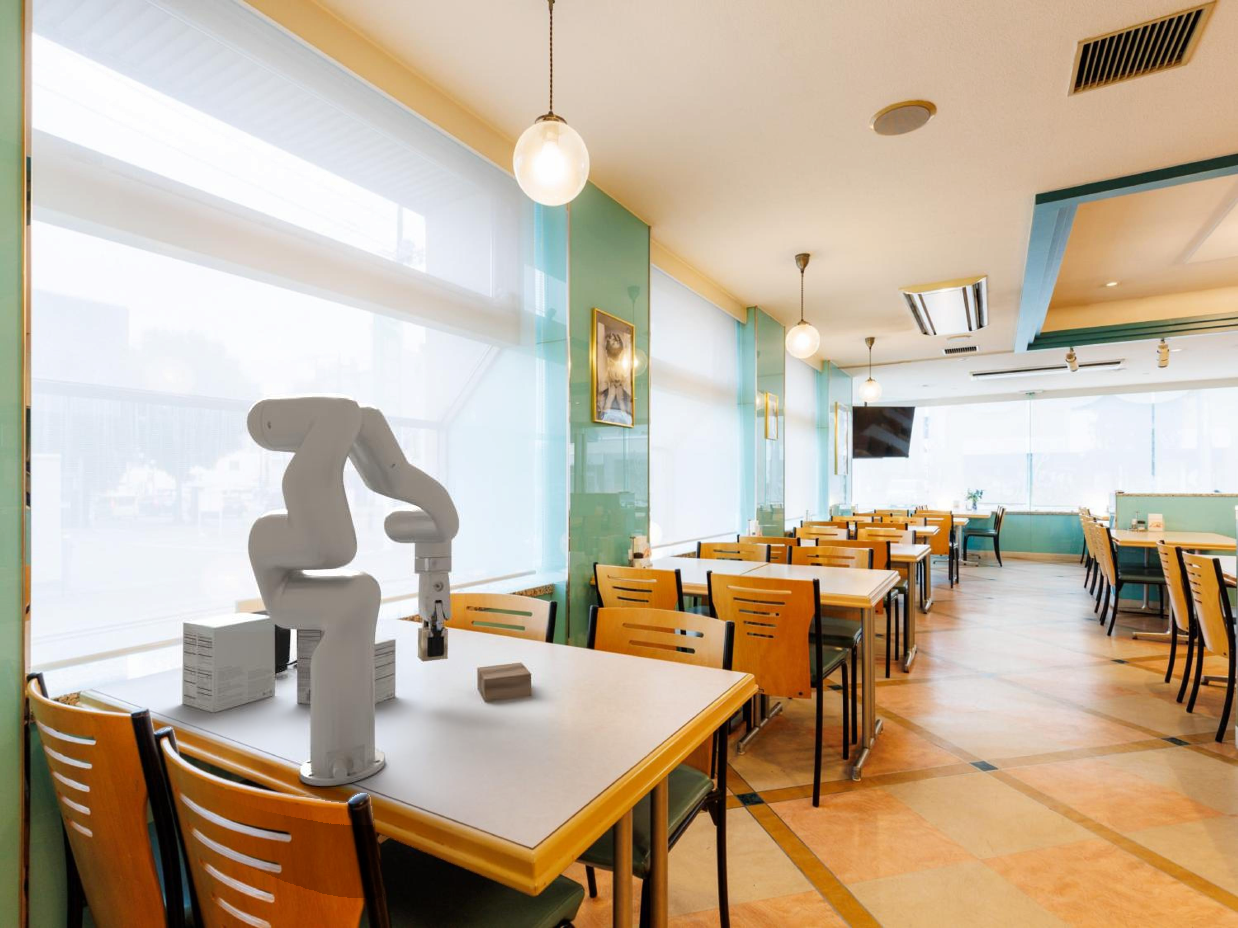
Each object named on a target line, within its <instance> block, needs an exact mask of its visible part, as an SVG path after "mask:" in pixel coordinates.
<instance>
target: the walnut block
mask: <svg viewBox="0 0 1238 928" xmlns="http://www.w3.org/2000/svg"><path fill="white" fill-rule="evenodd" d="M476 669H477V676H476V677H477V681H476V682H477V690H478V692H479V695H480V697H481V698H482V700H483V701H484V703H487V702H488V703H489V702H495V701H496V702H497V701H504V700H511V699H518V698H525V697H532V673H531V672H530V671H529V669H528V668H527V667H526V666H525V665H524V664H523V663H522V662H514V663H505V664H498V665H497V664H495V665H488V666H482V667H481V666H480V667H476Z"/></svg>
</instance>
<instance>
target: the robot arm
mask: <svg viewBox="0 0 1238 928" xmlns="http://www.w3.org/2000/svg"><path fill="white" fill-rule="evenodd" d="M246 426H247V430H248V433H249V436H250V437H251V438H252V440H253V441H254V443H256V444H257V445H258V446H260V447H261V448H262V449H265V450H267V451H271V452H279V453H280V452H283V453H294V455H293V456H292V458H291V459H290V460H289V463H288V465H287V467H286V469H285V471H284V473H283V476H282V481H281V492H282V496H283V501H284V504H285V508H286V509H277V510H271V511H268V512H267V513H264V514H262V515H260V516H259V517H258V518H257V519H256V520H255V521H254V523H253V524H252V526H251V528H250V531H249V535H248V542H247V550H248V558H249V561H250V565H251V568H252V572H253V574H254V578H255V581H256V584H257V587H258V590H259V593H260V596H261V600H262V602H263V603H262V604H263V605H264V609H265V610H266V611H267V613H268V615H269V617H270V619H271V620H272V621H273V623H275V624H276V625H277V626H279V627H281V628H285V629H291V630H297V629H298V630H323V631H325V633H324V636H323V638H322V639H321V641H320V643H319V644H318V646H317V647H316V649H315V651H314V653H313V655H312V658H311V664H310V704H309V705H310V716H309V717H310V718H309V719H310V727H309V728H310V734H309V735H310V741H309V742H310V748H309V749H310V752H309V753H310V754H309V755H310V758H309V759H308V760H306V761H305V762H304V763H302V765H301V766H300V768H299V769H298V771H299V772H298V773H299V780H300V781H301V782H303V783H305V784H307V785H310V786H318V787H333V786H339V785H341V786H342V785H346V784H350V783H354V782H357V781H361V780H363V779H366V778H369V777H370V776H373V775H375V774H376V773H377V772H379V771H380V770H381V769H382V768H383V767H384V766H385V764H386V754H385V752H384V751H382V750H381V749H379V748H376V714H375V713H376V704H375V637H376V632H377V624H378V618H379V612H380V608H381V601H382V591H381V586H380V584H379V582H378V581H377V579H376V578H375V577H374V576H373V575H371V574H370V573H367V572H364V571H360V570H352V569H340V568H343V567H345V566H348V565H349V564H350V563H351V562H352V561H353V560H354V559H355V557H356V555H357V551H358V541H357V540H358V539H357V534H356V530H355V525H354V522H353V517H352V512H351V510H350V505H349V501H348V497H347V494H346V489H345V485H344V484H345V483H344V482H345V481H344V471H345V466H346V463H347V459H349V460H350V462H351V464H352V465H353V467H354V469H356V472H357V473H358V475H359V477H360V478H361V480H362V483H364V485H365V487H366V488H367V489H368V490H370V491H372V492H374V493H376V494H378V495H381V496H384V497H386V498H390V499H392V500H396V501H400V502H404V503H408V504H409V505H401V506H397V507H395V508H392V509H391V510H390V511H389V512H388V513H387V515H386V516H385V518H384V522H383V528H384V532H385V534H386V536H387V537H388V538H389V539H390V540H391V541H393V542H395V543H399V544H414V574H417V575H419V576H418V592H417V593H418V595H417V597H418V599H417V601H418V602H417V603H418V606H417V607H418V608H417V609H418V610H417V611H418V615H419V617H420V618H421V619H422V624H421V628H423V627H429V637H428V657H436V656H443V655H444V627H445V626H444V624H445V621H447V622H448V621H449V622H450V620H451V618H452V605H451V604H452V603H451V602H452V601H451V585H450V583H451V582H450V576H449V574H450V573H452V571H453V570H452V566H453V565H452V563H453V561H452V560H453V559H452V549H453V548H452V546H453V545H452V543H453V542H452V541H453V540H454V538H455V537H456V536H457V535H458V532H459V529H460V519H459V513H458V511H457V508H456V506H455V504H454V501H453V500H452V498H451V495H450V494H449V492H448V490H447V489H446V488H445V486H444V485H443V484H442V483H440V482H439V481H438V480H436V479H434V477H432V476H431V475H429V474H427V473H426V472H424V470H421V469H420V468H418V467H416V466H414V465H413V464H411V463H409V461H408V460H407V458H406V455H405V453H404V452H403V450H402V448H401V446H400V444H399V442H398V440H397V439H396V437H395V434H394V433H393V430H392V429H391V427H390V425H389V423H388V421H387V420H386V417H385V415H384V414H383V413H382V411H381V410H380V409H379V408H378V407H376V406H374V405H372V404H368V403H358V401H356V400H355V399H354V398H352V397H351V396H349V395H345V394H339V393H308V394H295V395H280V396H279V395H278V396H277V395H276V396H269V397H264V398H262V399H261V398H260V400H258V401H256V402H254V404H253V405H252V406H251V407H250V409H249V411H248V414H247V417H246Z"/></svg>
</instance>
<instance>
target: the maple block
mask: <svg viewBox="0 0 1238 928" xmlns="http://www.w3.org/2000/svg"><path fill="white" fill-rule="evenodd" d="M448 631H449V629H448V628H447V627H445V626H444V655H443V656H436V657H428V637H429V627H423V628H422V627H418V628H417V658H418V659H420V661H421V662H430V661H439V660H441V661H442V660H448V659H449V657H448V651H449V650H448V649H449V647H448V646H449V644H448V643H449V636H448V635H449V632H448Z"/></svg>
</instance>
